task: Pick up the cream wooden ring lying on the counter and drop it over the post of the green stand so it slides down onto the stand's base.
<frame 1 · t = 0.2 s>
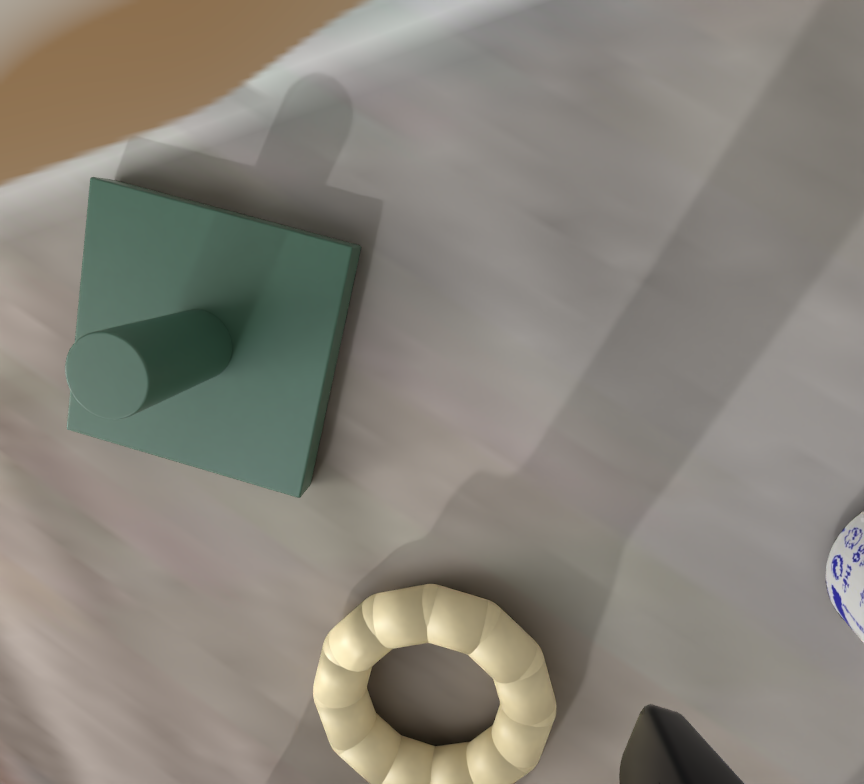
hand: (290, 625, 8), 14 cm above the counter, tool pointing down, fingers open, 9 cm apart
ring: (432, 697, 24), point 1 cm above the counter
stand: (215, 338, 23), on the counter
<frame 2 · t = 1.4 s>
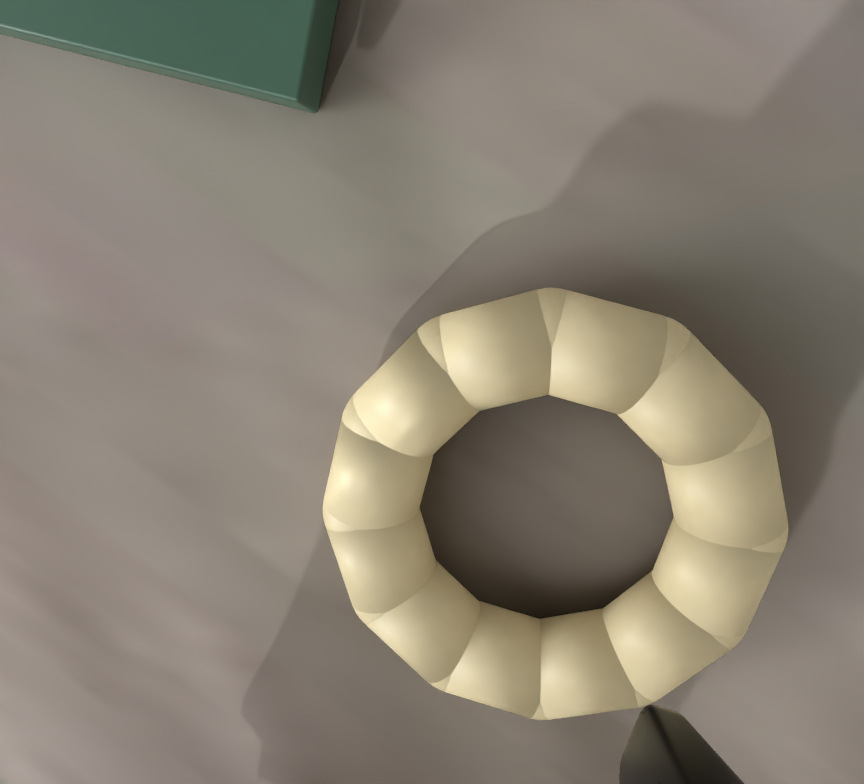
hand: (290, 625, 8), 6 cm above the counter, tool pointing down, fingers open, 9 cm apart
ring: (543, 515, 13), point 1 cm above the counter
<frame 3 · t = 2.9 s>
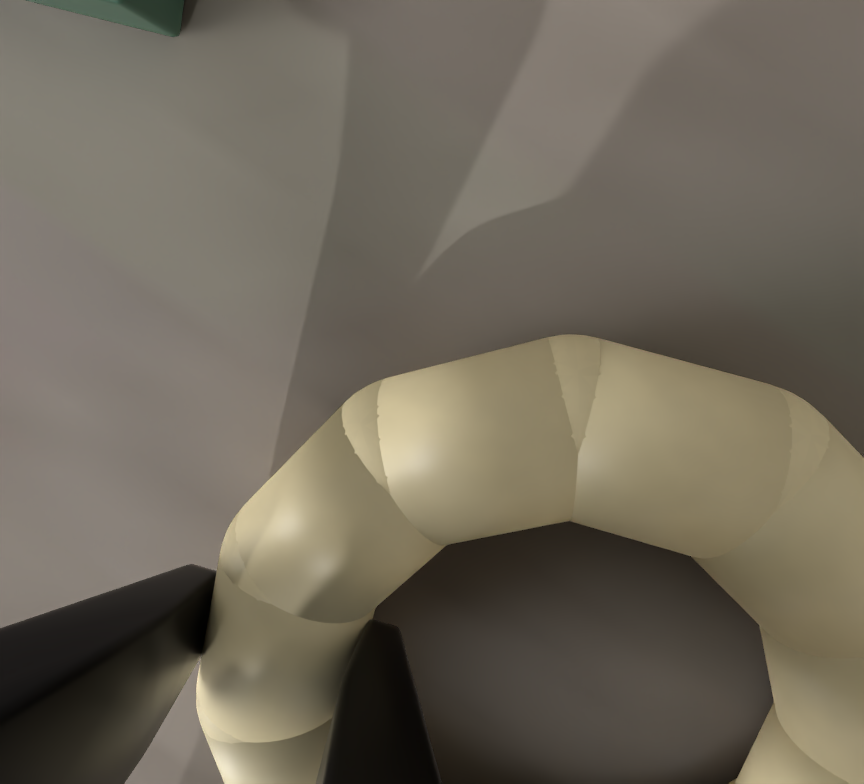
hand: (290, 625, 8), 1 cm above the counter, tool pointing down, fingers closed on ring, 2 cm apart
ring: (558, 706, 8), point 1 cm above the counter, touching gripper
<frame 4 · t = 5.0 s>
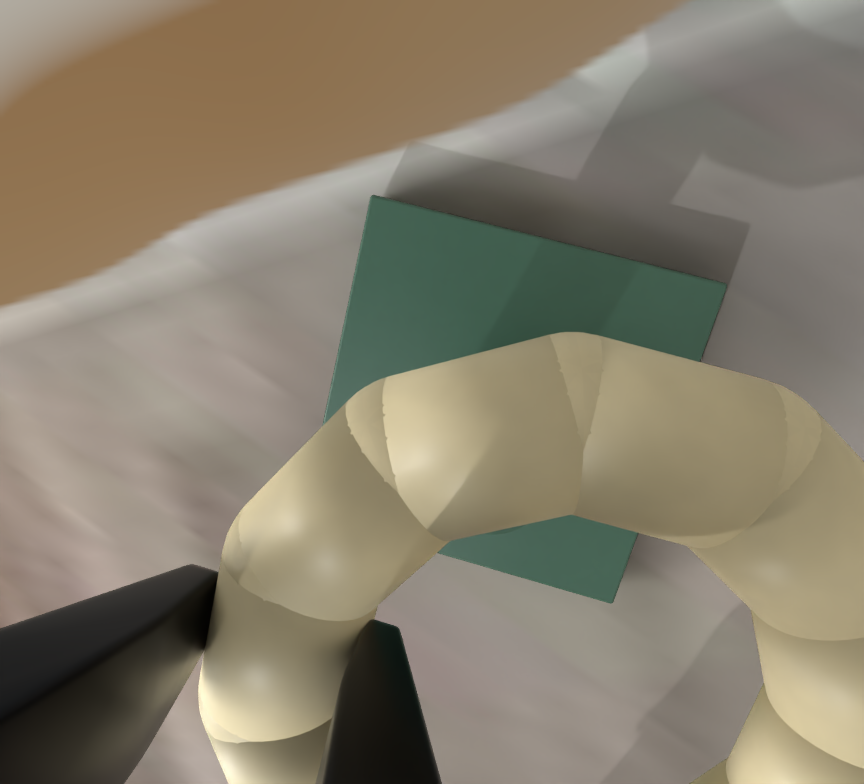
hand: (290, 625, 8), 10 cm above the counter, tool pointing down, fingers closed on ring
ring: (558, 695, 8), point 10 cm above the counter, touching gripper
stand: (498, 398, 18), on the counter
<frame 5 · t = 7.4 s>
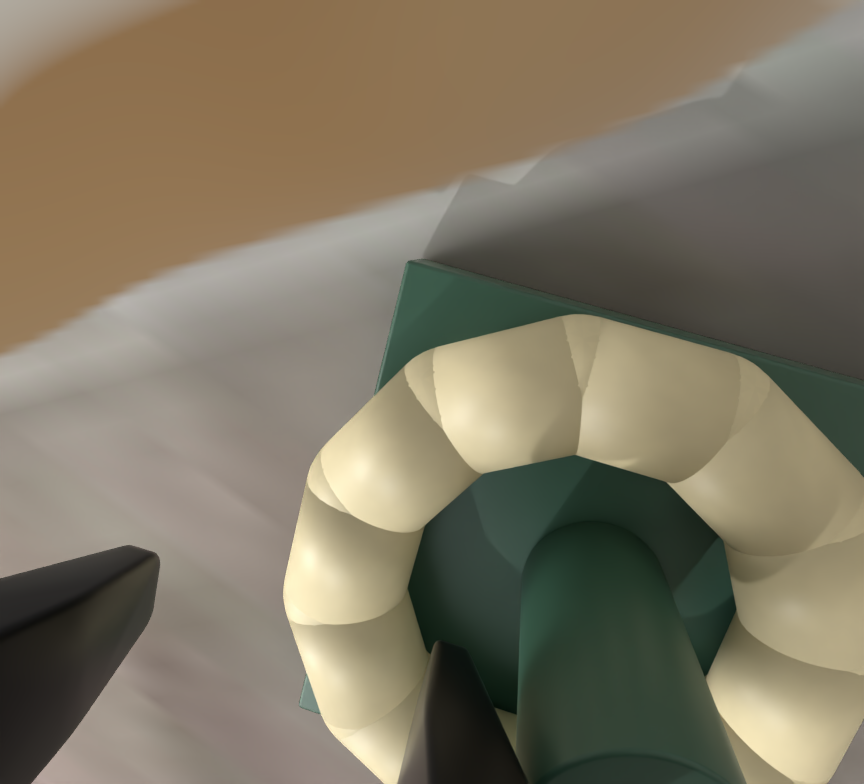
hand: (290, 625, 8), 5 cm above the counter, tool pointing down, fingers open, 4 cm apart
ring: (566, 606, 10), point 2 cm above the counter, touching stand
stand: (585, 551, 12), on the counter
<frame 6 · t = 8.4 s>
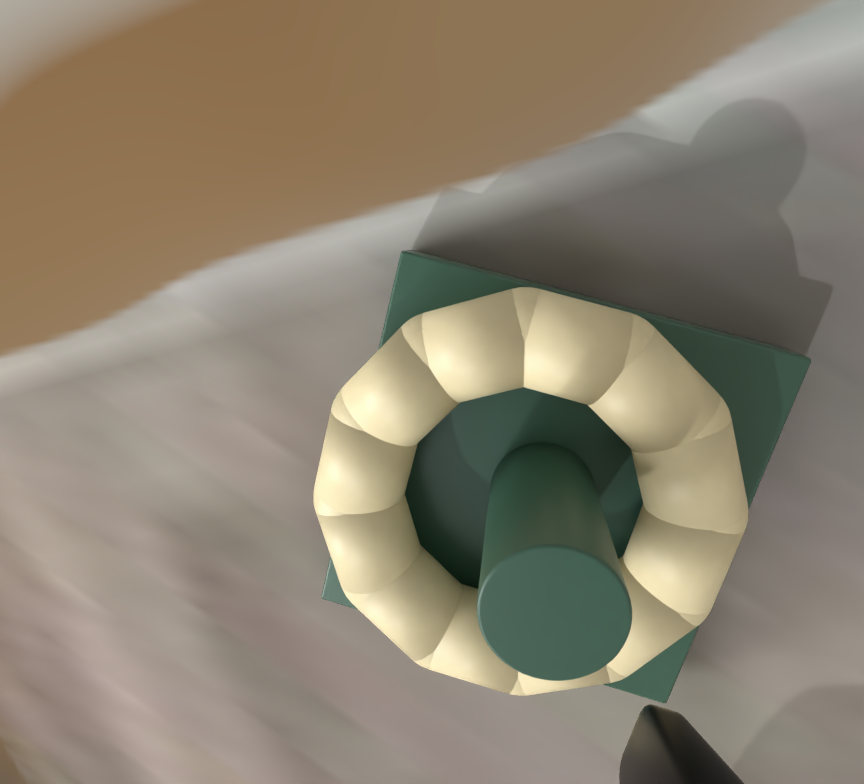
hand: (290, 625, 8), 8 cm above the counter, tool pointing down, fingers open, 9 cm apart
ring: (521, 501, 14), point 2 cm above the counter, touching stand
stand: (540, 472, 16), on the counter
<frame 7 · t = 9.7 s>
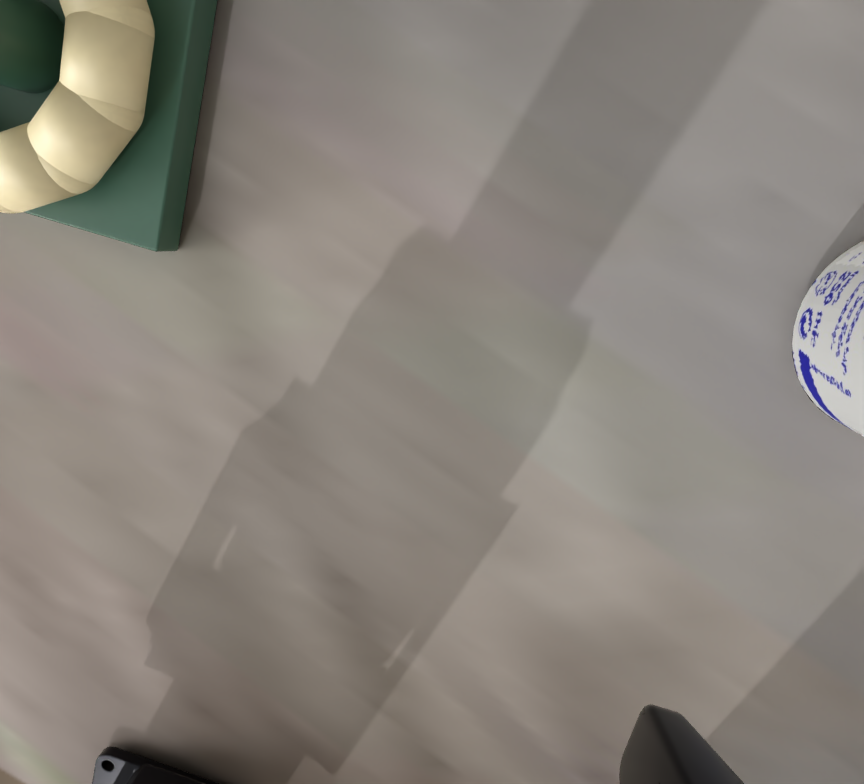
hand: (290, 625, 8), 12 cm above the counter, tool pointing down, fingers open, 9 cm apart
stand: (60, 58, 18), on the counter
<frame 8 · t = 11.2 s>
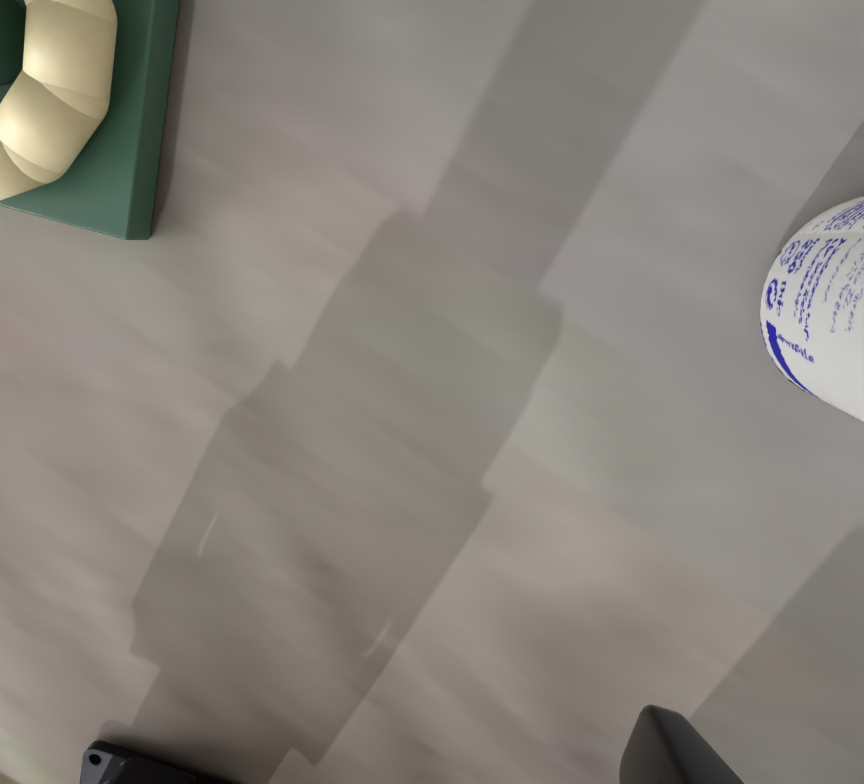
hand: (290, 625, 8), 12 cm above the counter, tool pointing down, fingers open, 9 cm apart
beverage can: (857, 300, 17), on the counter
stand: (28, 50, 19), on the counter
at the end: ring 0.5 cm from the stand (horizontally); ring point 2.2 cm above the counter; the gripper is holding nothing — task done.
